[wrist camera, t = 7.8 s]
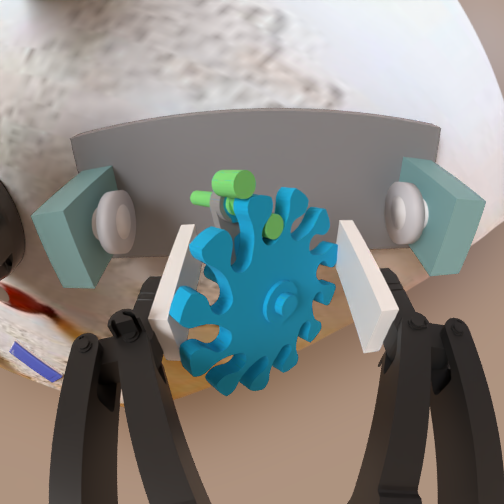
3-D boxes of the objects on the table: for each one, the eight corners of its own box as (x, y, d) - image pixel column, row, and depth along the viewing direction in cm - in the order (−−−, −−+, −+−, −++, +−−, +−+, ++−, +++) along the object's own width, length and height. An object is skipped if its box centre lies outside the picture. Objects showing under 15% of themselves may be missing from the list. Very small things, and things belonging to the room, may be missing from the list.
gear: (348, 321, 17) (233, 434, 12) (280, 293, 21) (172, 375, 16) (337, 141, 12) (128, 225, 7) (251, 144, 16) (89, 207, 11)
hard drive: (8, 352, 40) (51, 383, 46) (14, 342, 38) (61, 377, 43) (11, 346, 42) (53, 377, 48) (17, 337, 39) (64, 371, 45)
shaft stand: (107, 249, 26) (70, 314, 19) (75, 135, 19) (7, 175, 12) (411, 239, 26) (453, 300, 19) (435, 124, 19) (505, 161, 11)
